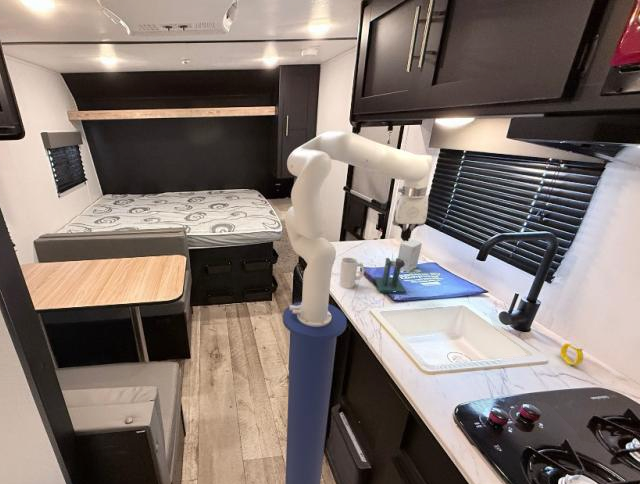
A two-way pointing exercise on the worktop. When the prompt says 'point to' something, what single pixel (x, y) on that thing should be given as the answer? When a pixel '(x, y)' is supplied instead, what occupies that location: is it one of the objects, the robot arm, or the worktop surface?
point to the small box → (409, 254)
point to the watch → (578, 351)
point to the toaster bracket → (389, 280)
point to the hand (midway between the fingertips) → (404, 239)
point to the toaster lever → (397, 263)
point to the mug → (349, 272)
